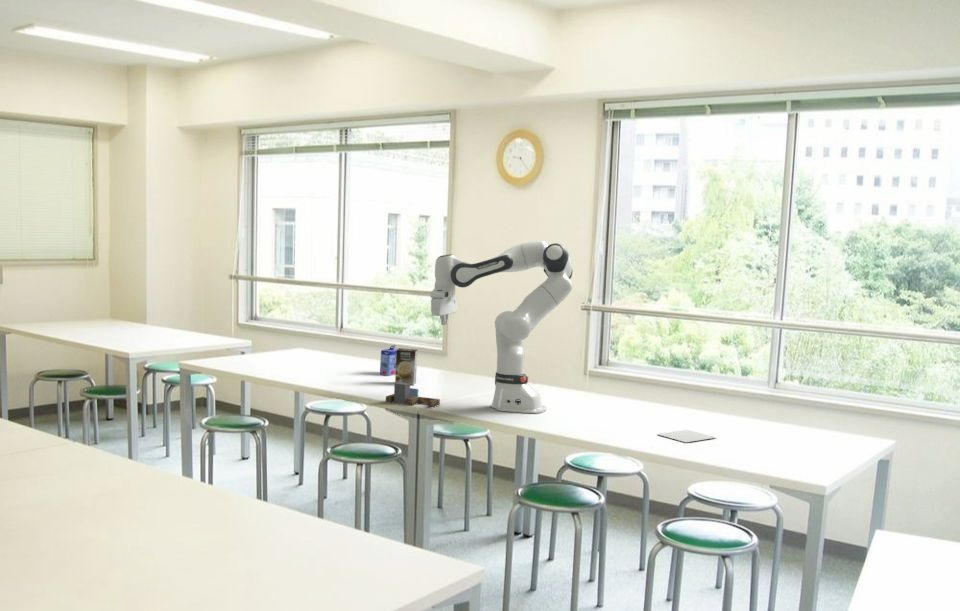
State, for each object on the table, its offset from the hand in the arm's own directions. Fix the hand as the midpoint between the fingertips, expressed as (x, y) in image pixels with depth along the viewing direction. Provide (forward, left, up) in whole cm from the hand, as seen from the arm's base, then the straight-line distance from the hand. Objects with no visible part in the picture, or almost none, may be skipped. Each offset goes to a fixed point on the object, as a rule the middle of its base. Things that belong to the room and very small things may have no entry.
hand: (444, 324), depth 369 cm
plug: (+8, +22, -31) cm, 39 cm away
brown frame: (+3, +20, -31) cm, 37 cm away
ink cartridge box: (+46, -39, -31) cm, 68 cm away
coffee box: (+27, -19, -31) cm, 45 cm away
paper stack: (-109, +26, -32) cm, 116 cm away
